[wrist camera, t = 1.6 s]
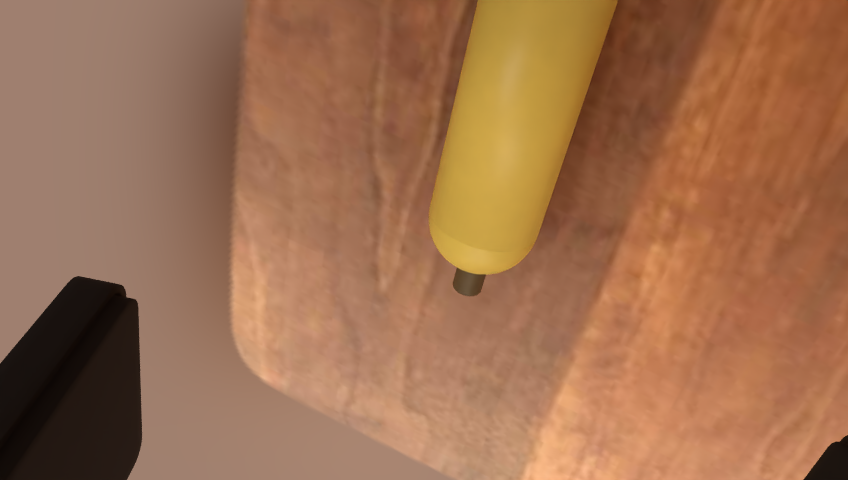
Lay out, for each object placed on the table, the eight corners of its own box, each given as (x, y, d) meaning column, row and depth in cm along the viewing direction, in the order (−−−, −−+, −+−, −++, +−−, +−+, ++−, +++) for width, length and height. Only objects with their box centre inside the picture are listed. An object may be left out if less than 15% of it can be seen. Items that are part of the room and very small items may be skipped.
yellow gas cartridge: (488, -178, 18) (583, -146, 15) (595, -159, 20) (695, -127, 17) (394, 264, 25) (449, 331, 23) (478, 247, 27) (536, 308, 25)
